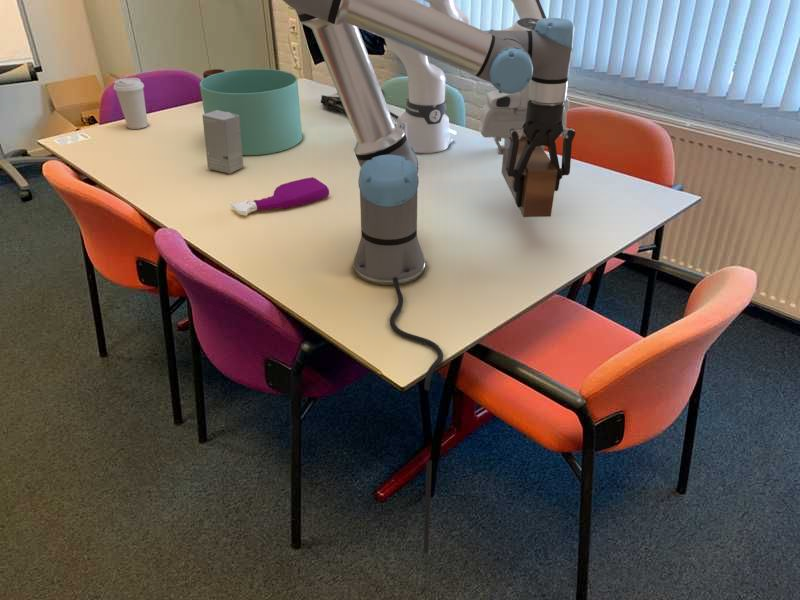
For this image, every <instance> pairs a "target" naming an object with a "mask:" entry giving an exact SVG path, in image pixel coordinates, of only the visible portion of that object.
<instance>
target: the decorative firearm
mask: <svg viewBox="0 0 800 600" xmlns="http://www.w3.org/2000/svg"><path fill="white" fill-rule="evenodd" d="M320 104H321V105H322V106H324V107H327V108H328V109H330V110H333V111H335V112H341V113H344V114H345V115H347V114H346V112H345V109H344V107H343V104H342V102H341V99H340V97H339V94H338V92H335V93H333V94H331V95H325V94H321V99H320Z"/></svg>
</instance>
